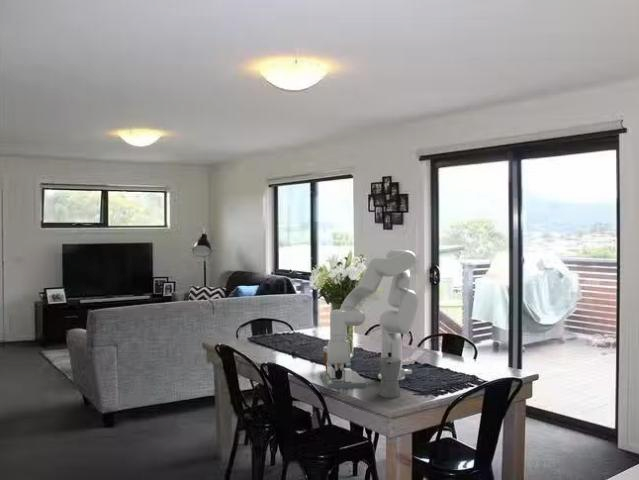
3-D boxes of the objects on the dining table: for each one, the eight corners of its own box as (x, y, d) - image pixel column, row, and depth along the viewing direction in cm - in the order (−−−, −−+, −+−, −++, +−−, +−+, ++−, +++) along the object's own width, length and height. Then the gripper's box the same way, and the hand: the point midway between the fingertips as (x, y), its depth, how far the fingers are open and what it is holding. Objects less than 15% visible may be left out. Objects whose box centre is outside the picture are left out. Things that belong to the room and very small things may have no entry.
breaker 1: (333, 372, 286) (333, 361, 286) (335, 374, 282) (335, 363, 282) (327, 372, 286) (327, 361, 286) (328, 374, 282) (328, 363, 281)
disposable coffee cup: (325, 374, 292) (325, 349, 291) (320, 369, 301) (320, 345, 300) (344, 373, 294) (344, 348, 294) (338, 368, 303) (338, 344, 303)
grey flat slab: (355, 375, 290) (355, 370, 290) (365, 387, 268) (365, 382, 268) (320, 376, 287) (320, 372, 287) (327, 388, 266) (327, 384, 266)
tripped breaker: (350, 379, 273) (350, 368, 273) (352, 381, 269) (352, 370, 269) (343, 379, 273) (343, 368, 273) (345, 381, 269) (345, 370, 268)
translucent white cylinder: (425, 351, 318) (390, 357, 303) (425, 362, 318) (390, 369, 303) (417, 349, 322) (382, 355, 308) (417, 360, 322) (382, 367, 308)
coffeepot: (400, 399, 249) (400, 356, 249) (377, 398, 251) (377, 355, 250) (401, 389, 264) (401, 348, 264) (379, 388, 266) (379, 347, 265)
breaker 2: (336, 375, 280) (336, 364, 279) (337, 378, 275) (337, 367, 275) (329, 376, 279) (329, 365, 279) (331, 378, 275) (331, 367, 275)
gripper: (353, 335, 275) (353, 376, 275) (320, 336, 272) (320, 377, 273) (356, 338, 267) (356, 380, 268) (323, 339, 265) (323, 381, 266)
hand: (338, 378), depth 270 cm, fingers closed
